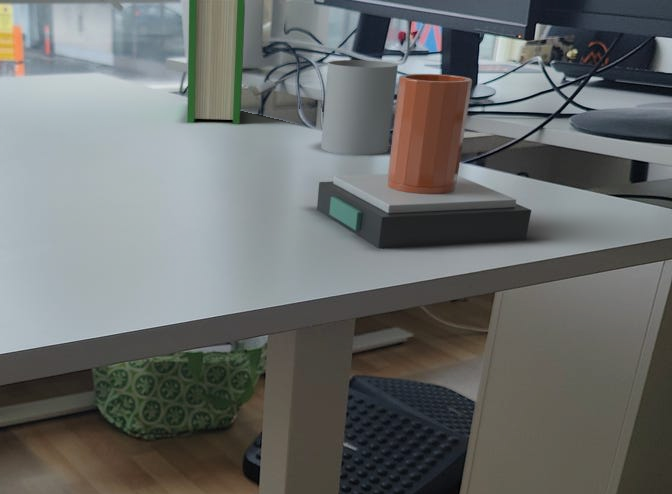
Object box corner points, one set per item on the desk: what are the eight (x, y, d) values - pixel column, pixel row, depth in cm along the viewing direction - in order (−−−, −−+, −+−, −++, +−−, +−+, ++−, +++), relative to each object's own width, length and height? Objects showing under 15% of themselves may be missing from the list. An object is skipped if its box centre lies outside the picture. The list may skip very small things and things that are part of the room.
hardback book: (239, 125, 136) (247, -71, 124) (187, 124, 136) (190, -72, 124) (240, 107, 151) (248, -69, 139) (194, 106, 152) (197, -70, 139)
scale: (447, 205, 95) (453, 169, 93) (525, 242, 83) (533, 201, 81) (312, 212, 91) (315, 174, 90) (373, 251, 80) (378, 208, 78)
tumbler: (435, 178, 89) (450, 73, 84) (467, 192, 84) (485, 81, 79) (376, 181, 87) (388, 74, 83) (405, 195, 82) (419, 82, 78)
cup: (315, 153, 118) (322, 65, 113) (326, 142, 125) (333, 59, 120) (383, 158, 116) (393, 68, 111) (391, 147, 123) (401, 62, 118)
